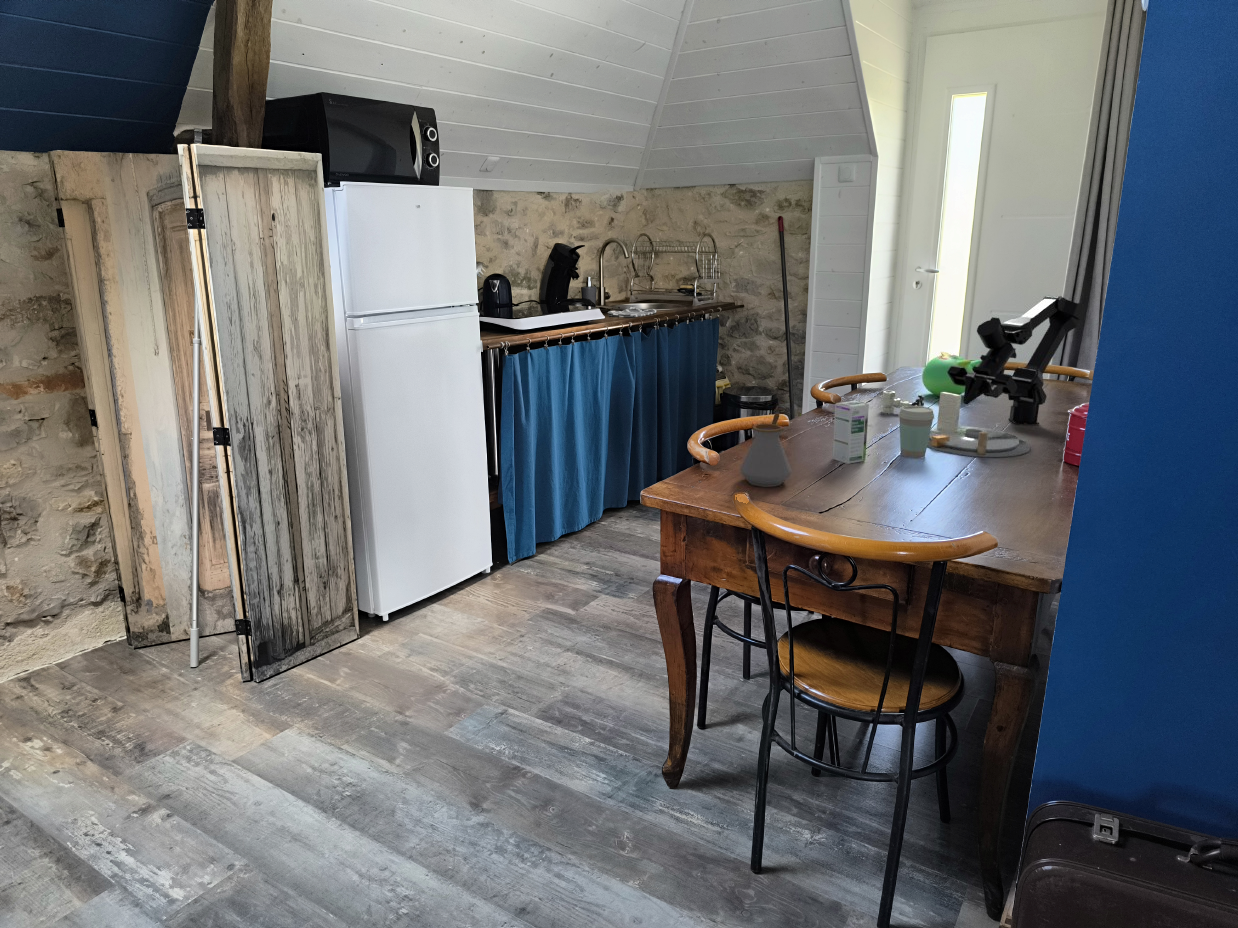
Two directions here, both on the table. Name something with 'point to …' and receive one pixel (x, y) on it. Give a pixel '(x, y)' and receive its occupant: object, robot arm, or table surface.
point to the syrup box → (850, 431)
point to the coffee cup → (915, 430)
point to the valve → (897, 402)
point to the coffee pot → (766, 456)
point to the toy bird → (945, 373)
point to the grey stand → (965, 430)
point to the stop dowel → (982, 443)
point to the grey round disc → (1020, 450)
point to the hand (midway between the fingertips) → (964, 403)
